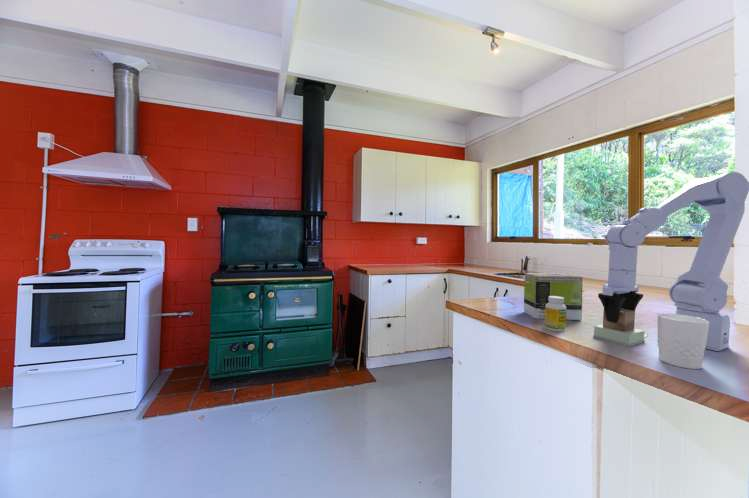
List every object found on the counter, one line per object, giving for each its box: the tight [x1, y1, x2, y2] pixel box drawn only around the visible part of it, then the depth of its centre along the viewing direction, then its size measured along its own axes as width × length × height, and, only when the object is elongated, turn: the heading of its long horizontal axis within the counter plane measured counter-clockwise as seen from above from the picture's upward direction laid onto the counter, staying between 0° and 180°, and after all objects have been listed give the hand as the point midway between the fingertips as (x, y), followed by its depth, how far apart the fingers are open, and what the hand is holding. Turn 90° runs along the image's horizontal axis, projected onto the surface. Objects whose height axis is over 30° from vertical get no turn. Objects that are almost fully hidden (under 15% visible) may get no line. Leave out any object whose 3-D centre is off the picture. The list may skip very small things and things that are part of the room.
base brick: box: [592, 323, 646, 347], centre depth 82 cm, size 8×8×3 cm
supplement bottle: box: [544, 296, 567, 332], centre depth 90 cm, size 5×5×10 cm
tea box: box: [523, 272, 583, 321], centre depth 105 cm, size 15×10×15 cm
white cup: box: [657, 312, 709, 370], centre depth 66 cm, size 8×8×10 cm
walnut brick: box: [602, 308, 636, 332], centre depth 82 cm, size 5×5×5 cm
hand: (619, 320), depth 82 cm, fingers open, 7 cm apart
